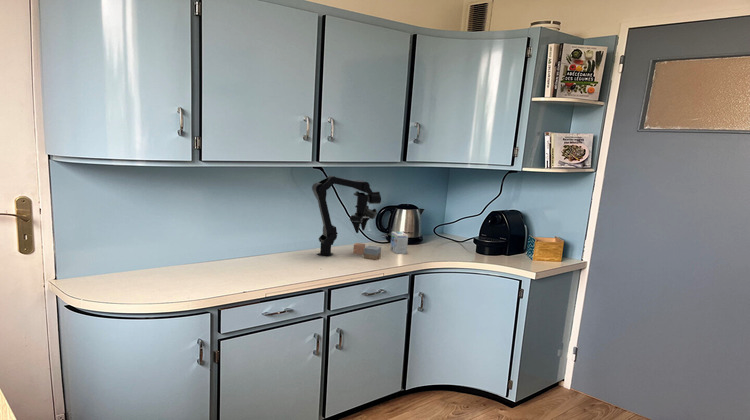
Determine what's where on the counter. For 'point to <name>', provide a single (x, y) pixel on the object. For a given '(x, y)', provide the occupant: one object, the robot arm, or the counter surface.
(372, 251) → the slate grey block
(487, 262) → the counter surface
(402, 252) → the light bulb box
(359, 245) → the terracotta cube
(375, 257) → the walnut block
